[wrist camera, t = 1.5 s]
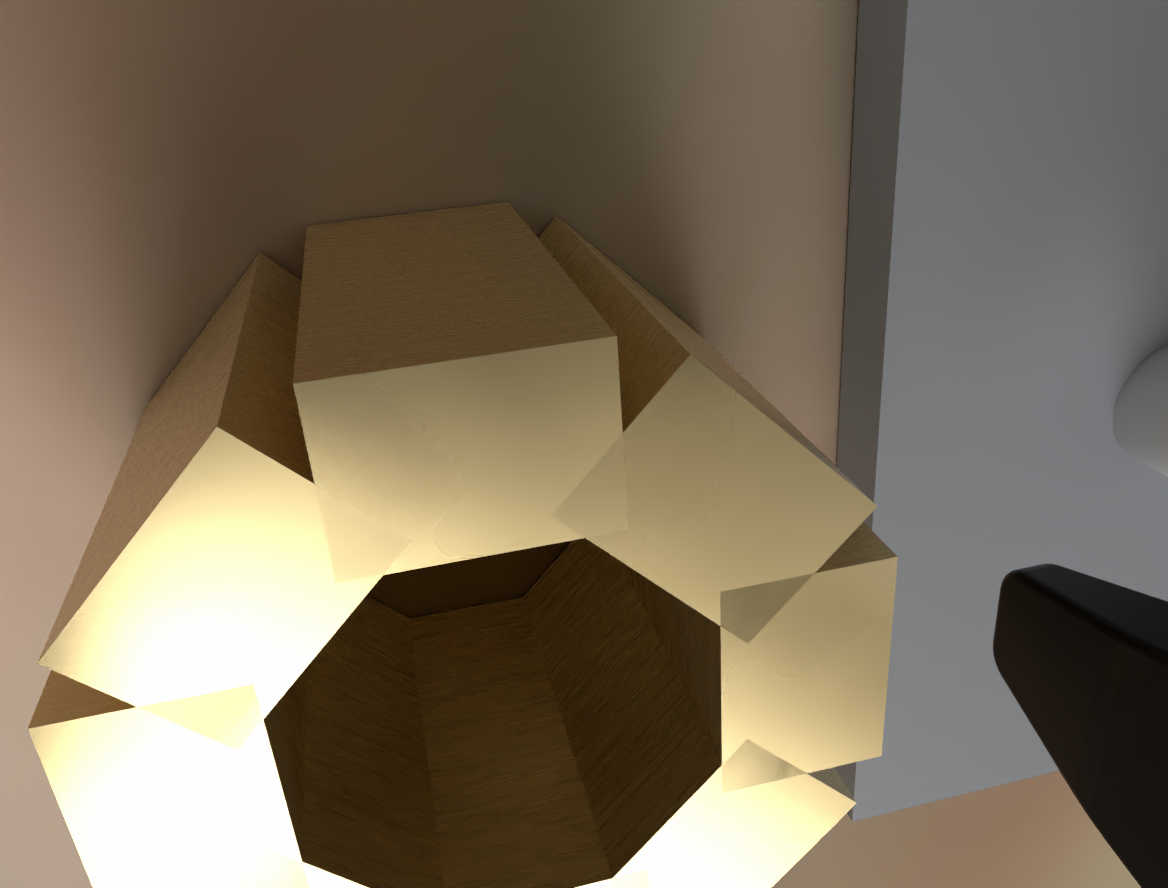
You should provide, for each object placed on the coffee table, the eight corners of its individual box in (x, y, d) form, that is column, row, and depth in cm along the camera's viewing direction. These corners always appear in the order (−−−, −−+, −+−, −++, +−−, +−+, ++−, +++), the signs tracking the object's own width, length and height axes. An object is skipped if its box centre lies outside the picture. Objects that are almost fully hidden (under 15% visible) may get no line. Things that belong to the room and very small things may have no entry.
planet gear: (704, 178, 11) (920, 291, 7) (712, 651, 14) (867, 925, 10) (78, 253, 10) (-92, 438, 6) (227, 753, 13) (182, 1106, 9)
